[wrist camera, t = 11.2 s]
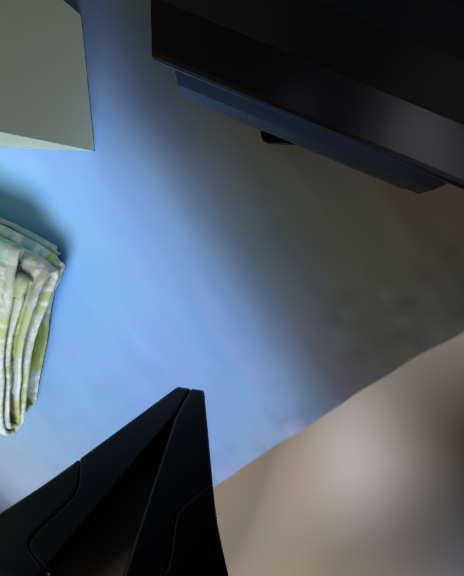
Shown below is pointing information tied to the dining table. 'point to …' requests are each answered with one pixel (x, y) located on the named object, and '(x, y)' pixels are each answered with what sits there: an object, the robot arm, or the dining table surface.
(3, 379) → the towel
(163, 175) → the dining table surface
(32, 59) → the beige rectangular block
